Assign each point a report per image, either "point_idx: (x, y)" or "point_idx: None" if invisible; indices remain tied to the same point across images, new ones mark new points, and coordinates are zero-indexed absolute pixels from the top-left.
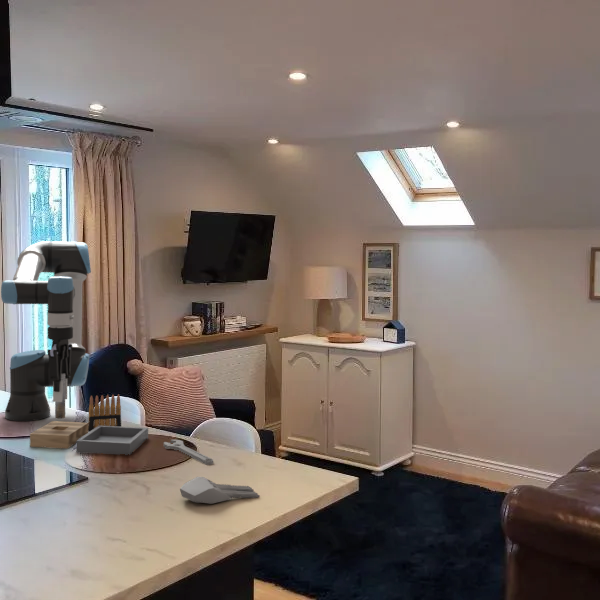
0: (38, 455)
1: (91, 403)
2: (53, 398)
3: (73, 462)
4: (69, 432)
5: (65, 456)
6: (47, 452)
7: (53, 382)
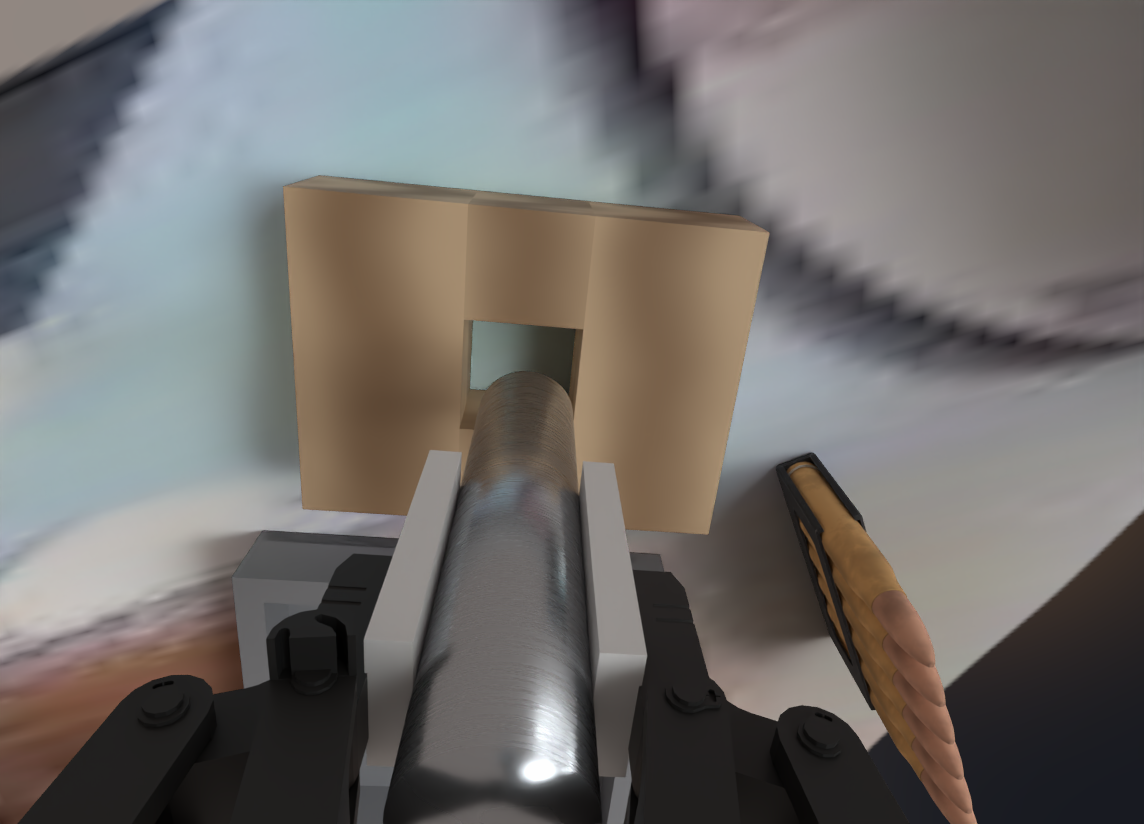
0: (121, 322)
1: (877, 614)
2: (421, 474)
3: (56, 574)
4: (395, 490)
5: (157, 497)
6: (209, 358)
7: (370, 625)
